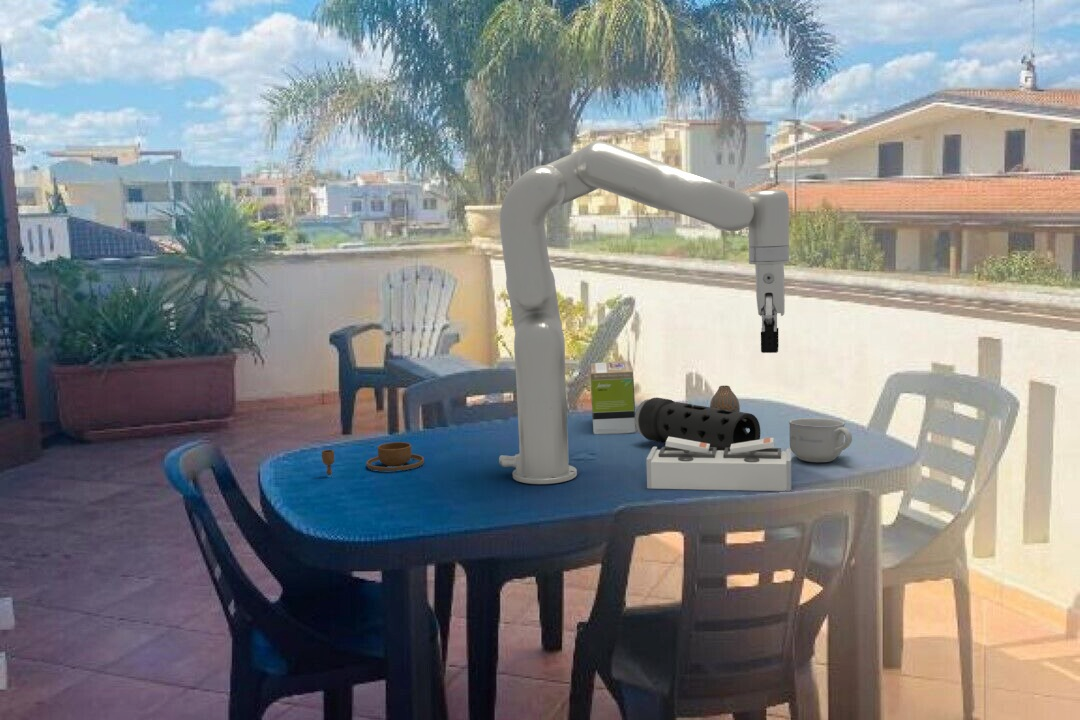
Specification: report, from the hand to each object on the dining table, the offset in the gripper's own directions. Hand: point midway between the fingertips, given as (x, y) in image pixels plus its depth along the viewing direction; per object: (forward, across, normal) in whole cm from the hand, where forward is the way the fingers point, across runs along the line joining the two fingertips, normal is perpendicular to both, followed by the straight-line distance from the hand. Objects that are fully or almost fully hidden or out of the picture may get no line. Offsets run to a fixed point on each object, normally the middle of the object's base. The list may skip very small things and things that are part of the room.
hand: (769, 349), depth 208 cm
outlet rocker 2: (+18, -10, +3) cm, 21 cm away
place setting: (+24, -4, +81) cm, 84 cm away
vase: (+24, +42, +11) cm, 50 cm away
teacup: (+24, +6, -10) cm, 26 cm away
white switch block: (+23, -12, +9) cm, 28 cm away
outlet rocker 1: (+18, -10, +15) cm, 26 cm away
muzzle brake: (+24, +13, +16) cm, 31 cm away
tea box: (+24, +36, +37) cm, 57 cm away
